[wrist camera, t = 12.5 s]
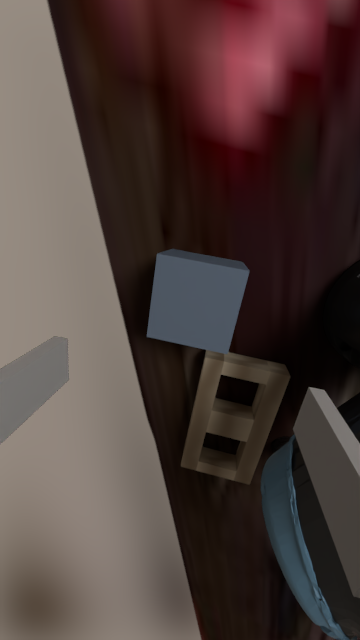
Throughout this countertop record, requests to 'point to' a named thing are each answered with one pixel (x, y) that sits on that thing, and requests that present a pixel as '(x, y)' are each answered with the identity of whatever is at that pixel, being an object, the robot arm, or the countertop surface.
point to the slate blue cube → (196, 299)
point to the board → (233, 415)
